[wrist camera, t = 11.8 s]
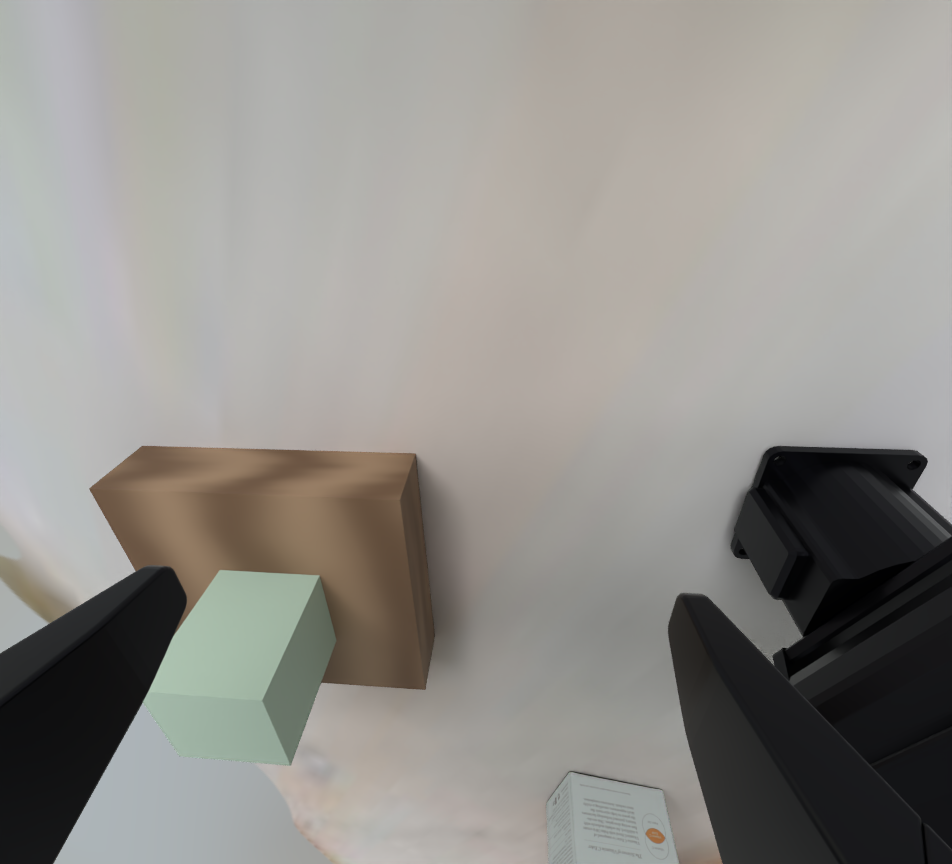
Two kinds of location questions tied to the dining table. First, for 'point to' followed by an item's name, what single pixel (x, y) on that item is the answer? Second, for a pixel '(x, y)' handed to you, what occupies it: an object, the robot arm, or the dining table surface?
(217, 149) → the dining table surface
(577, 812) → the small box
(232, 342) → the dining table surface
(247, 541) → the walnut base
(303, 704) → the green cube
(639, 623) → the dining table surface
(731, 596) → the dining table surface
